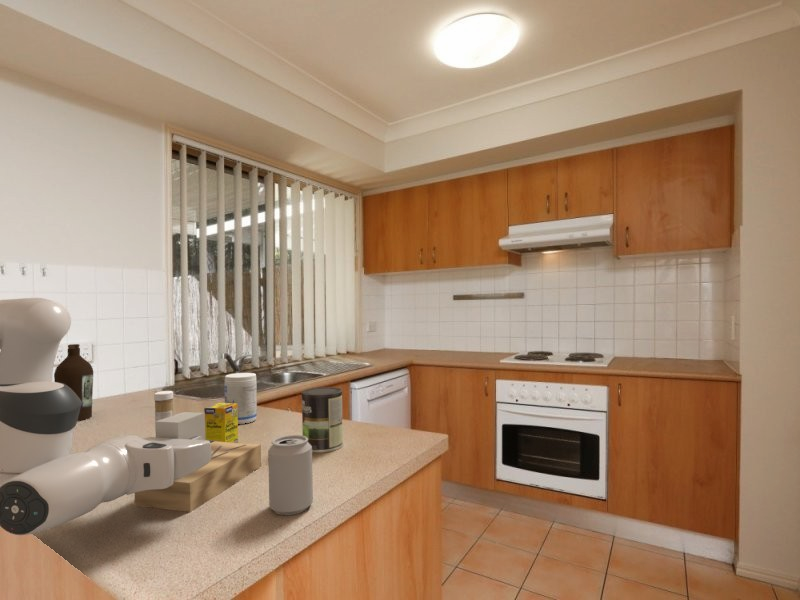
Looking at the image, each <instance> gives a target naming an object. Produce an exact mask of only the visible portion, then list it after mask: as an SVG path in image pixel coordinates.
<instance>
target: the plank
mask: <svg viewBox="0 0 800 600" xmlns="http://www.w3.org/2000/svg"><path fill="white" fill-rule="evenodd" d="M258 468H259V469H260V468H262V446H261V443H247V442H245V443H244V442H238V443H233V442H216V441H214V442H212V443H211V460H210V462H209V463H208V464H207V465H205V466H203V467H202V468H200V469H198V470H196V471H195V472H193V473H191V474H189V475H187V476H185V477H182V478H179V479H174V484H173V485H172V486H170V487H168V488H165V489H158V490H148V491H140V492H136V493H134V506H135V507H144V508H152V507H153V508H152V509H161V510H162V509H163V510H170V511H171V510H172V511H181V512H187V513H188V512H189V513H191V512H193V511H194V510H196V509H198V508H199V507H201V506H202V505H204V504H205V503H207V502H208V501H210V500H211V499H212V498H215V497H216V496H218V495H219V494H221V493H222V492H224V491H225V490H227V489H229V488H230V487H232V486H234V485H235V484H236V482H237V483H238V482H240V481H241V480H243V479H244V478H246V477H248V476H249V475H250V473H251V474H252V473H253V471H254V472H255V471H257V470H259V469H258ZM247 475H248V476H247ZM245 476H246V477H245Z"/></svg>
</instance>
